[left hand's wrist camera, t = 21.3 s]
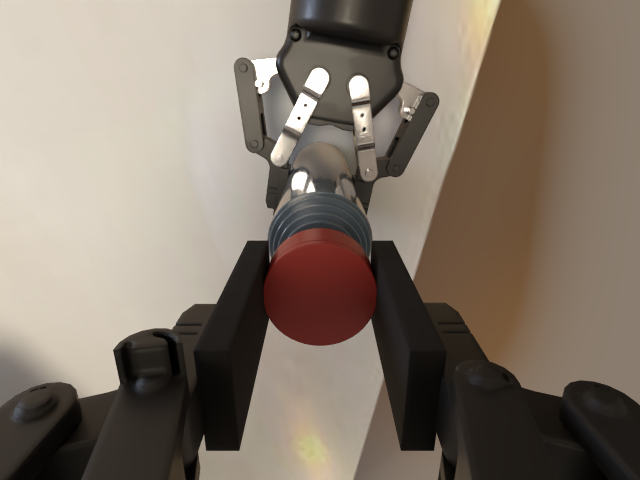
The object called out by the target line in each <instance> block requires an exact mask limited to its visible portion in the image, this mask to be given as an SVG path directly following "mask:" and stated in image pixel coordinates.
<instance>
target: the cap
mask: <svg viewBox="0 0 640 480" xmlns="http://www.w3.org/2000/svg"><path fill="white" fill-rule="evenodd" d="M263 288H264V306H265V310H266V313H267V315H268V317H269V318H270V320H271V322H272V323H273V324H274V325H275V327H276V328H277V329H278V330H279V331H281V332H282V333H283V334H284V335H286V336H288V337H289V338H291V339H293V340H295V341H298V342H301V343H304V344H309V345H317V346H322V345H332V344H336V343H340V342H342V341H345V340H347V339H349V338H351V337H353V336H354V335H356V334H357V333H358V332H360V331H361V330H362V329H363V328H364V327H365V326H366V324H367V323H368V322H369V320H370V319H371V317H372V315H373V313H374V311H375V308H376V294H377V285H376V281H375V278H374V274H373V271H372V268H371V264H370V261H369V258H368V256H367V254H366V252H365V251H364V249H363V248H362V247H361V246H360V245H359V243H357V242H356V241H355V240H354V239H353V238H351V237H350V236H348V235H346V234H344V233H342V232H339V231H336V230H332V229H327V228H313V229H307V230H304V231H301V232H298V233H296V234H294V235H292V236H291V237H289V238H288V239H286V240H285V241H284V242H283V243H282V244H281V245H280V246H279V247H278V248H277V250H276V251H275V253H274V255H273V257H272V259H271V262H270V265H269V268H268V271H267V275H266V278H265V281H264V286H263Z"/></svg>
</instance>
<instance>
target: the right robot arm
mask: <svg viewBox="0 0 640 480" xmlns="http://www.w3.org/2000/svg"><path fill="white" fill-rule="evenodd" d="M412 2H413V0H291V7H290V15H289V23H288V31H287V37H286V40H285V43H284V45H283V47H282V48H281V50H280V51H279V53H278V54H277V57H276V58H272V59H262V60H249V59H246V58H239V59H238V60H237V61H236V62H235V64H234V71H235V78H236V85H237V91H238V98H239V104H240V111H241V117H242V124H243V131H244V137H245V144H246V147H247V149H248V150H249V151H250V152H252V153H257V154H258V155H260V156H262V157H264V158H265V159H266V160H267V161H268V162H269V165H270V171H269V179H268V188H267V195H266V203H267V207H268V208H272V209H274V214H275V211H276V209H277V206H278V203H279V201H280V198H281V195H282V193H283V190H284V188H285V185H286V182H287V180H288V177H289V174H290V170H291V164H289V158H290V155H291V154H292V152H293V150H294V148H295V146H296V144H297V142H298V140H299V138H300V136H301V134H302V132H303V130H304V128H305V126H306V124H307V122H308V124H313V125H318V126H321V125H334V126H336V127H338V128H340V129H342V130H347V131H352V136H353V142H354V147H355V155H356V162H357V171H356V175H352V179H353V182H354V185H355V187H356V190H357V193H358V195H359V198H360V200H361V203H362V206H363V208H364V211H365V214H366V215H367V211H368V206H369V202H370V197H371V192H372V188H373V184H374V183H375V181H376V180H377V179H379V178H382V177H388V176H393V177H398V176H400V175H402V174H403V172H404V170H405V168H406V166H407V164H408V163H409V161H410V159H411V157H412V155H413V153H414V151H415V149H416V147H417V145H418V143H419V141H420V140H421V138H422V136H423V134H424V132H425V130H426V128H427V126H428V124H429V122H430V120H431V119H432V117H433V115H434V113H435V111H436V109H437V107H438V105H439V98H438V96H437V95H436V94H435V93H432V92H424V91H422V90H420V89H418V88H416V87H414V86H412V85H410V84H408V83H406V82H404V81H403V73H402V70H401V53H402V48H403V44H404V39H405V35H406V30H407V25H408V21H409V16H410V12H411V7H412ZM276 74H278V75H279V77H280V79H281V81H282V83H283V85H284V87H285V89H286V91H287V93H288V95H289V97H290V99H291V101H292V103H293V105H294V109H293V111H292V113H291V115H290V117H289V119H288V121H287V123H286V125H285V127H284V129H283V131H282V133H281V135H280V137H279V139H278V141H275V140H273V139H271V138H269V137H268V136H267V131H266V124H265V116H264V109H263V101H262V94H263V93H266V92H267V91H268V90H269V89H270V82H271V79H272V77H273V76H274V75H276ZM395 96H397V97H398V98H399V100H400V106H399V109H398V112H399V115H400V116H401V117H402V118H403V121H402V123H401V125H400V127H399V129H398V131H397V133H396V135H395V137H394V139H393V141H392V143H391V145H390V147H389V149H388V151H387V153H386V155H385V156H384V157H379V158H376V154H375V139H374V130H373V122H372V119H373V118H374V117H375V116H376V115H377V114H378V113H379V112H380V111H381V110H382V109H383V108H384V107H385V106H386V105H387V104H388V103H389V102H390V101H391V100H392V99H393V98H394V97H395ZM274 214H273V217H274Z"/></svg>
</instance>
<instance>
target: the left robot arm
mask: <svg viewBox="0 0 640 480" xmlns="http://www.w3.org/2000/svg"><path fill="white" fill-rule="evenodd" d="M269 265H270V261H269V241H247V243H246V245H245V247H244V249H243V251H242V253H241V255H240V257H239V259H238V261H237V263H236V265H235V267H234V269H233V271H232V274H231V276H230V278H229V280H228V282H227V284H226V286H225V288H224V290H223V292H222V294H221V296H220V298H219V300H218V302H217V304H195V305H193V306H192V307H190V308H189V309H188V310H186V311H185V312H183V313H182V315H181V316H180V318H179V319H178V321H177V323H176V326H174V327H173V329H172V330H170V329H158V328H155V329H150V330H144V331H141V332H138V333H135V334H133V335H130V336H128V337H127V338H125V339H124V340H122V341H121V342H119V344H118V345H117V346H116V347H115V348H114V350H113V351H114V356H115V361H116V365H117V370H118V375H119V379H120V386H119V388H118V390H115V391H111V392H108V393H104V394H99V395H94V396H90V397H85V398H81V399H78V395H77V391H76V389H75V388H74V387H73V386H72V385H71V384H67V383H62V382H57V383H46V384H43V385H40V386H36V387H33V388H30V389H28V390H26V391H24V392H22V393H20V394H18V395H16V396H15V397H14V398H12V399H11V400H10V401H8V402H7V403H5V404H4V405H3V406H2V407H1V408H0V480H199V474H200V463H199V456H198V450H199V447H200V444H201V441H202V438H203V435H204V437H205V444H206V451H239V449H240V445H241V441H242V436H243V432H244V427H245V423H246V418H247V414H248V410H249V405H250V401H251V396H252V392H253V387H254V383H255V379H256V374H257V370H258V365H259V361H260V357H261V352H262V348H263V343H264V339H265V334H266V330H267V326H268V321H269V317H268V315H267V313H266V310H265V306H264V288H263V286H264V281H265V278H266V275H267V271H268V268H269ZM371 268H372V271H373V274H374V278H375V281H376V285H377V294H376V308H375V311H374V313H373V315H372V317H371V320H372V324H373V329H374V333H375V338H376V342H377V347H378V351H379V355H380V360H381V364H382V369H383V373H384V377H385V382H386V386H387V391H388V395H389V400H390V404H391V408H392V413H393V417H394V422H395V426H396V431H397V435H398V439H399V444H400V448H401V451H434V446H435V439H436V432H437V435H438V438H439V441H440V444H441V447H442V456H441V463H440V470H439V477H438V480H640V405H639V404H638V403H637V402H635V401H634V400H632V399H631V398H630V397H628V396H627V395H626V394H624V393H622V392H620V391H618V390H616V389H614V388H612V387H610V386H607V385H604V384H601V383H597V382H591V381H576V382H571V383H569V384H568V385H567V386H566V387H565V389H564V392H563V396H562V397H558V396H554V395H549V394H544V393H540V392H535V391H532V390H528V389H525V388H522V387H521V385H520V383H519V382H518V380H517V379H516V377H515V376H514V375H513V374H512V373H511V372H509V371H508V370H507V369H505V368H504V367H501V366H499V365H497V364H495V363H492V362H489V360H488V359H487V357H486V355H485V354H484V352H483V351H482V349H481V348H480V346H479V344H478V343H477V341H476V340H475V338H474V336H473V335H472V334H470V330H469V329H468V327H467V325H465V322H464V321H463V319H462V318H461V316H460V314H459V313H458V312H457V311H456V310H455V309H453V308H452V307H450V306H449V305H448V304H446V303H423V301H422V299H421V297H420V295H419V293H418V291H417V289H416V287H415V285H414V283H413V281H412V279H411V277H410V275H409V273H408V271H407V269H406V267H405V265H404V263H403V261H402V259H401V257H400V255H399V253H398V251H397V249H396V247H395V245H394V243H393V241H372V246H371Z"/></svg>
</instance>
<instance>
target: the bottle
mask: <svg viewBox="0 0 640 480" xmlns="http://www.w3.org/2000/svg"><path fill="white" fill-rule="evenodd" d="M313 228H327V229H332V230H336V231H339V232H342V233H344V234H346V235H348V236H350V237H351V238H353V239H354V240H355V241H356V242H357V243H359V245H360V246H361V247H362V248H363V249H364V251H365V252H366V254H367V256H368V258H369V256H370V253H371V246H372V231H371V227H370V224H369V221H368V219H367V216H366V214H365V211H364V208H363V206H362V203H361V200H360V198H359V195H358V193H357V190H356V187H355V185H354V182H353V179H352V177H351V174H350V172H349V169H348V166H347V164H346V161H345V159H344V156H343V155H342V153H341V152H340V151H339V150H338V149H337V148H336V147H334V146H332V145H330V144H328V143H321V142H319V143H313V144H310V145H308V146H306V147H304V148H303V149H302V150H301V151H300V152H299V153H298V155H297V157H296V159H295V161H294V164H293V166H292V169H291V172H290V174H289V177H288V180H287V182H286V185H285V188H284V190H283V193H282V195H281V198H280V201H279V203H278V206H277V209H276V211H275V214H274V217H273V219H272V222H271V225H270V228H269V232H268V241H269V253H270V256H271V259H272V257H273V255H274V253H275V251H276V250H277V248H278V247H279V246H280V245H281V244H282V243H283V242H284V241H285V240H286V239H288V238H289V237H291V236H292V235H294V234H296V233H298V232H301V231H304V230H307V229H313Z"/></svg>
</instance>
